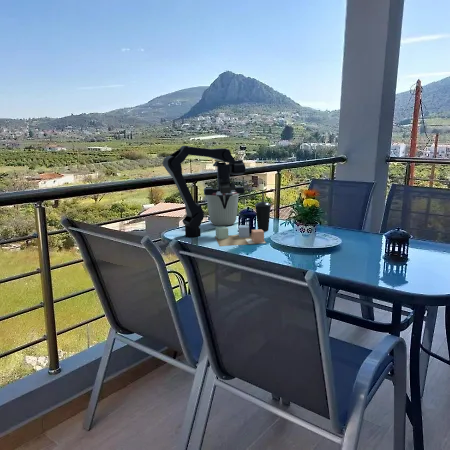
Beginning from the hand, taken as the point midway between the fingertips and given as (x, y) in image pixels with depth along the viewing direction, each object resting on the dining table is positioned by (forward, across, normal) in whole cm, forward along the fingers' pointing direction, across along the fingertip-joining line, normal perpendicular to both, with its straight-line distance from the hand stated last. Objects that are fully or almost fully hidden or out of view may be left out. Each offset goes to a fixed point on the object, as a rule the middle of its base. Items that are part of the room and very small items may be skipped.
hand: (224, 208), depth 191 cm
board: (+12, +4, -17) cm, 21 cm away
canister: (+12, +2, +21) cm, 25 cm away
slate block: (+11, +7, -12) cm, 17 cm away
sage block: (+11, -3, -12) cm, 16 cm away
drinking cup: (+12, +18, -2) cm, 22 cm away
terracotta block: (+11, +12, -21) cm, 26 cm away
